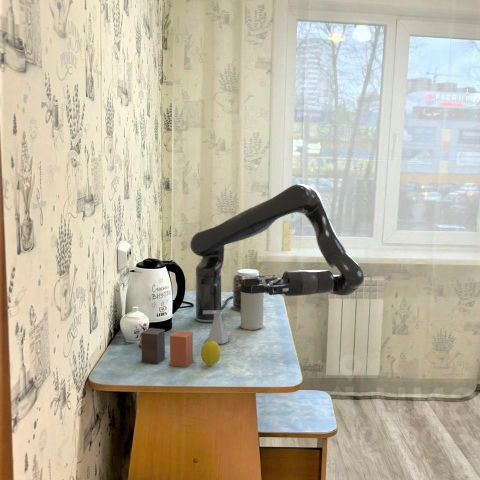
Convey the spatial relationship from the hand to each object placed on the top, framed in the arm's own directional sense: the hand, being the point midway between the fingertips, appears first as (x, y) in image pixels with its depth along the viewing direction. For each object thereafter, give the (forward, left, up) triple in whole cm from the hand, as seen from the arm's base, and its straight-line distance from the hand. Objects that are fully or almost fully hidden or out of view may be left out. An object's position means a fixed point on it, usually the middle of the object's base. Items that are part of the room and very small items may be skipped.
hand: (247, 285), depth 174 cm
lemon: (+6, -9, -24) cm, 26 cm away
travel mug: (-34, -9, -24) cm, 42 cm away
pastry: (-5, -33, -24) cm, 41 cm away
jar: (-57, -18, -24) cm, 64 cm away
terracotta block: (+6, -18, -23) cm, 30 cm away
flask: (-16, -15, -24) cm, 32 cm away
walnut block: (+6, -27, -23) cm, 36 cm away
